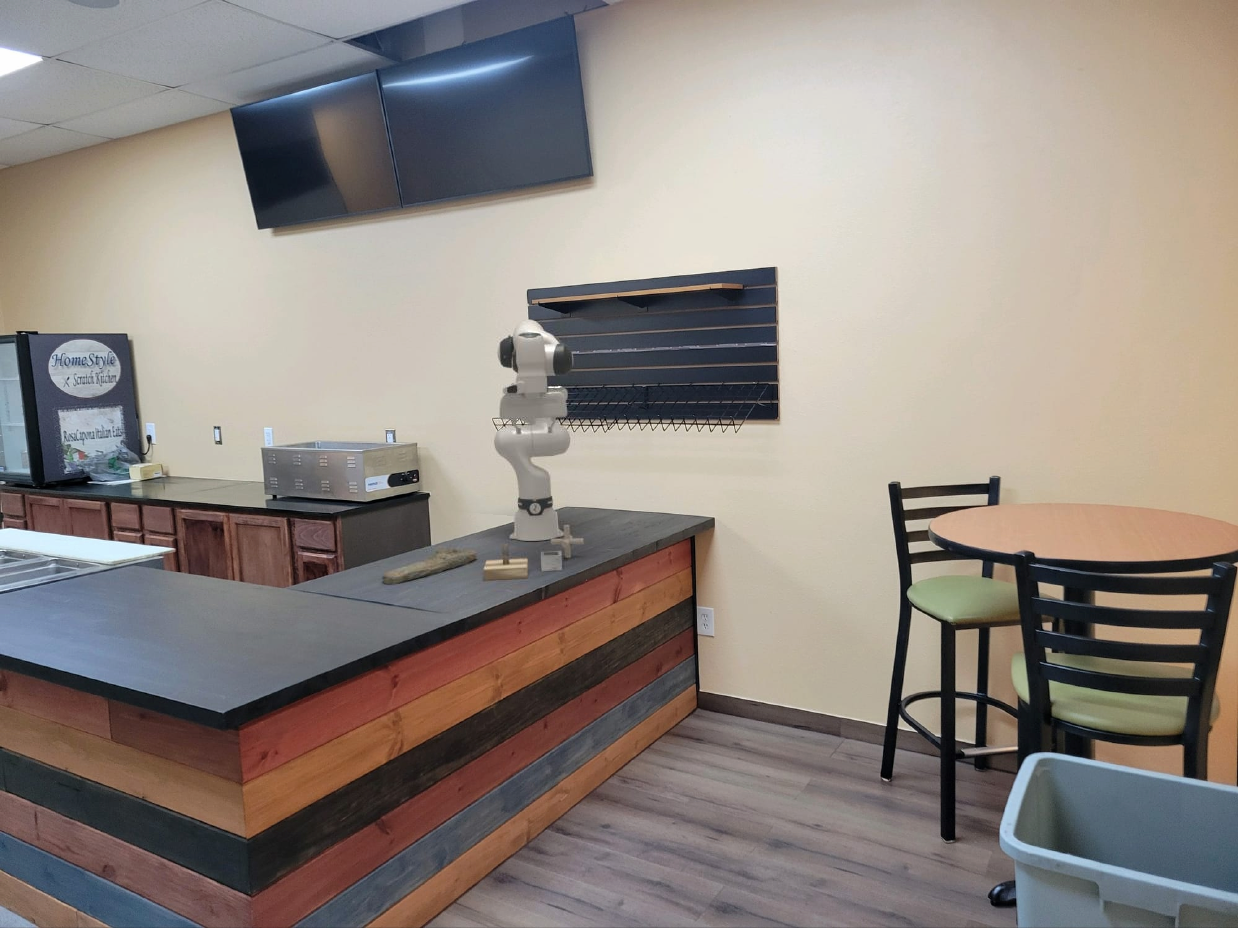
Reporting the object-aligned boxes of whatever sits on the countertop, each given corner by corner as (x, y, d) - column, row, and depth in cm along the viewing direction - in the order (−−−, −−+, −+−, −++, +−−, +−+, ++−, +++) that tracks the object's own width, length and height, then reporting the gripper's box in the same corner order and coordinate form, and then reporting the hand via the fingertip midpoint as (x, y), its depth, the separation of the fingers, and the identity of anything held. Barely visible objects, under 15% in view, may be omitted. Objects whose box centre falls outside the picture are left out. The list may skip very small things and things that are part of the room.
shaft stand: (487, 570, 251) (485, 541, 250) (528, 567, 252) (526, 539, 251) (484, 580, 239) (482, 550, 238) (527, 577, 240) (525, 548, 239)
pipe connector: (586, 553, 268) (584, 522, 267) (581, 560, 259) (580, 528, 257) (554, 553, 269) (553, 522, 268) (549, 561, 260) (547, 529, 258)
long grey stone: (374, 587, 242) (398, 593, 237) (372, 569, 241) (396, 575, 236) (461, 555, 271) (484, 560, 265) (460, 539, 270) (483, 543, 264)
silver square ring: (541, 566, 253) (541, 551, 253) (561, 565, 254) (561, 550, 253) (541, 571, 248) (540, 556, 247) (562, 570, 248) (561, 555, 247)
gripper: (567, 385, 258) (569, 431, 260) (499, 388, 257) (501, 434, 258) (567, 386, 252) (569, 432, 253) (497, 388, 251) (500, 435, 252)
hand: (534, 433), depth 256 cm, fingers open, 8 cm apart
